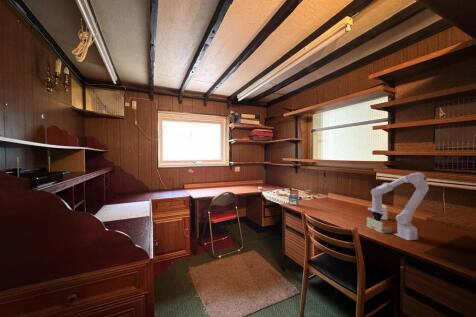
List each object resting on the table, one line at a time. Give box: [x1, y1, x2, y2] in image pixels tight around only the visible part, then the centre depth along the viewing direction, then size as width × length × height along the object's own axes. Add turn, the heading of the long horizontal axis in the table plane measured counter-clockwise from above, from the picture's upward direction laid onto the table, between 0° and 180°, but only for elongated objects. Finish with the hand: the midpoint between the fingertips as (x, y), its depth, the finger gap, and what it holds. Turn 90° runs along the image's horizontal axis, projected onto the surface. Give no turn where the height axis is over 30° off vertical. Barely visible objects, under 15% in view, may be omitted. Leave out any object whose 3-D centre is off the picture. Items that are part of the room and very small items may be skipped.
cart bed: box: [366, 223, 393, 234], centre depth 135 cm, size 13×8×4 cm, turn 10°
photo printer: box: [372, 204, 389, 221], centre depth 156 cm, size 10×4×12 cm, turn 39°
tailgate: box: [366, 217, 384, 230], centre depth 135 cm, size 12×1×5 cm, turn 10°
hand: (377, 222), depth 135 cm, fingers closed
